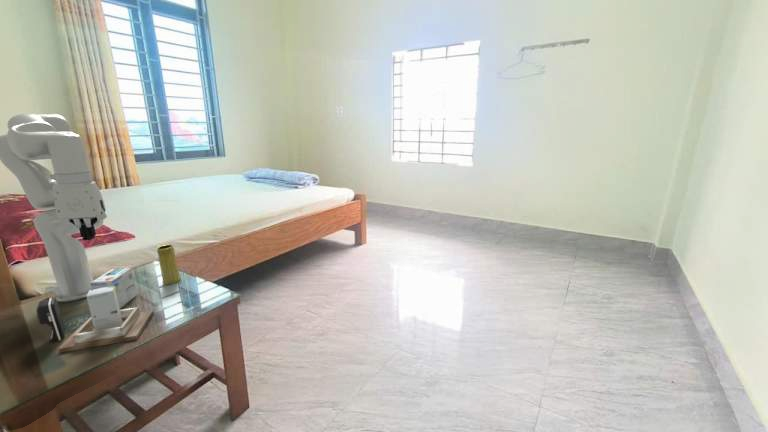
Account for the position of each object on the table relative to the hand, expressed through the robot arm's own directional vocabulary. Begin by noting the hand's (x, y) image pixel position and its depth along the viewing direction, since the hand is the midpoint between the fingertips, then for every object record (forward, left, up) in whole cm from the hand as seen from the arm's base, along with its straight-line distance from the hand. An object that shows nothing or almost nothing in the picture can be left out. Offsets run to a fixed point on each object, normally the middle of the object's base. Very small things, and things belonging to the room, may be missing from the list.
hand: (89, 238), depth 100 cm
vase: (+12, +21, -26) cm, 36 cm away
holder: (+4, -11, -26) cm, 28 cm away
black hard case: (-10, -9, -26) cm, 29 cm away
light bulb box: (-1, +8, -26) cm, 28 cm away
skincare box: (+4, -10, -25) cm, 27 cm away
